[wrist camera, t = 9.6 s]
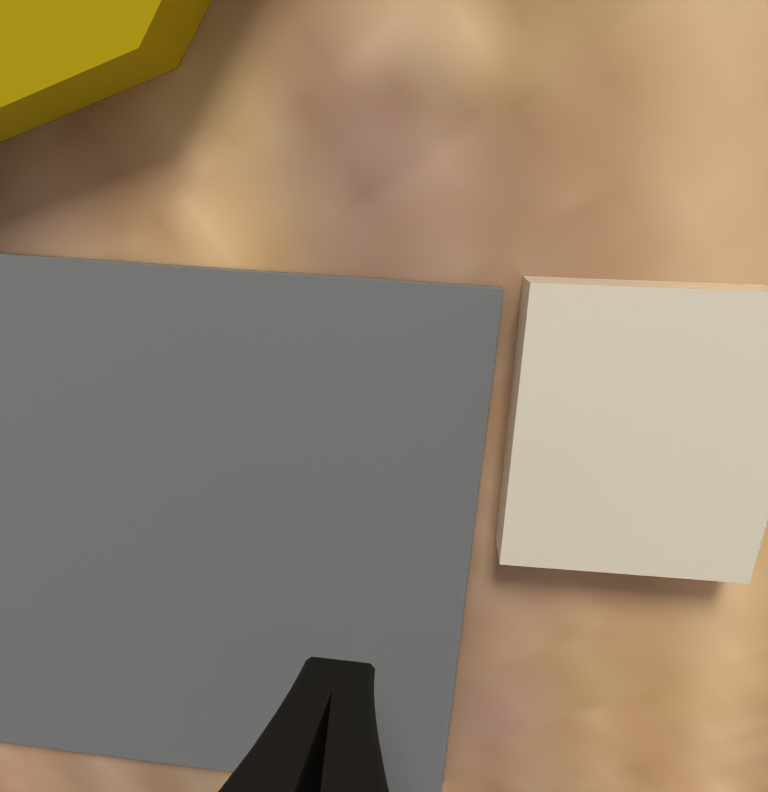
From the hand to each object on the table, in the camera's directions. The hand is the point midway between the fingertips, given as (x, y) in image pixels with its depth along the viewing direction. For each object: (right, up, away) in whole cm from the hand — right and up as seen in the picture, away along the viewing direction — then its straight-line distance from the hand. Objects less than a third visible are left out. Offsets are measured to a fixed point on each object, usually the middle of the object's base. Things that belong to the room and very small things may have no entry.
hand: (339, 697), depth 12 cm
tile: (+4, +6, +2) cm, 7 cm away
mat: (-5, +2, +4) cm, 7 cm away
